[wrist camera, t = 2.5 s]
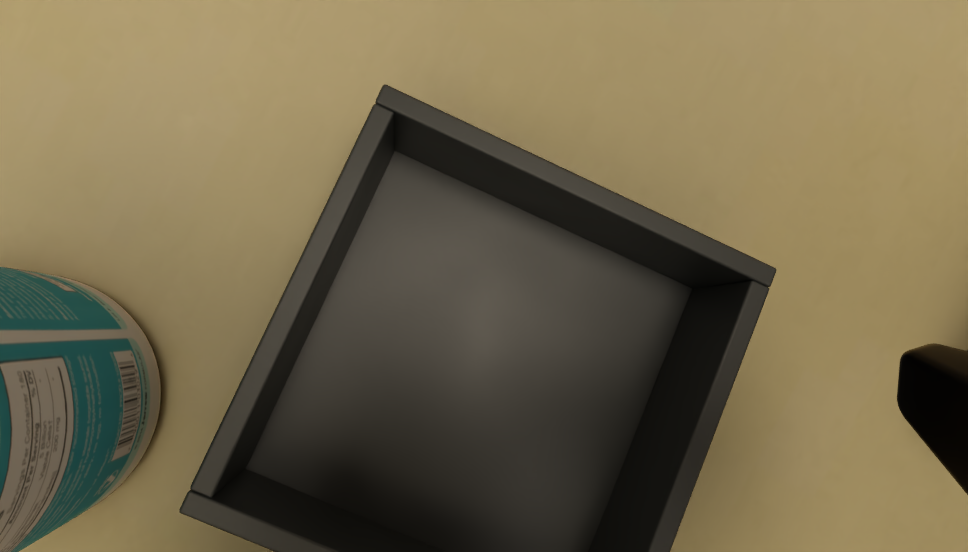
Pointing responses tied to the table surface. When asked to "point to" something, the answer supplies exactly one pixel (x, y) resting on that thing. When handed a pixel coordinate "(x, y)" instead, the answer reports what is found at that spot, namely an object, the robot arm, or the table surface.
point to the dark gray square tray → (480, 360)
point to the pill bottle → (67, 401)
